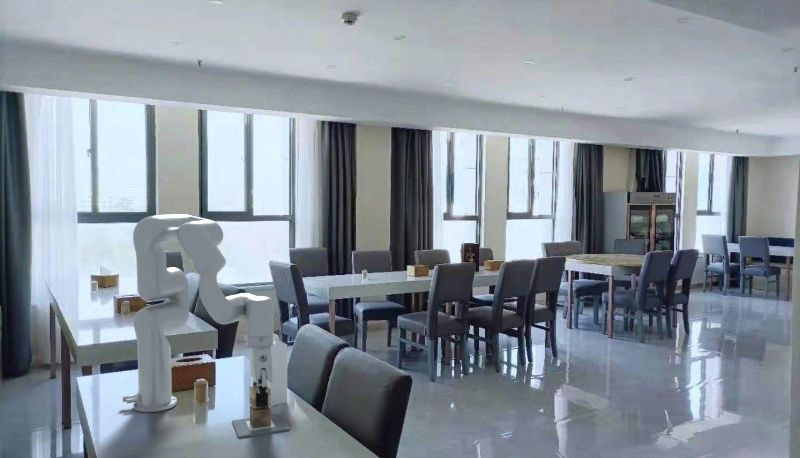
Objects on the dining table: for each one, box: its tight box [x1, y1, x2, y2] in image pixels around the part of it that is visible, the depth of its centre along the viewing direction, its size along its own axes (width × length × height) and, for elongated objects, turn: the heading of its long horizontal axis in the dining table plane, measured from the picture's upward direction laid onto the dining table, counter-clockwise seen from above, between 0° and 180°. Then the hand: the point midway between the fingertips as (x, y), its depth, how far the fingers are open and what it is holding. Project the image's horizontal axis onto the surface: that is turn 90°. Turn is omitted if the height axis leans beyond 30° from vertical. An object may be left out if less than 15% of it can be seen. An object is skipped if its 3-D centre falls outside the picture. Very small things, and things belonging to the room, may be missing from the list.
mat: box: [231, 412, 290, 439], centre depth 167 cm, size 14×12×1 cm
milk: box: [267, 332, 288, 407], centre depth 186 cm, size 6×6×22 cm
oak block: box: [249, 384, 272, 408], centre depth 167 cm, size 5×5×5 cm
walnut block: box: [249, 404, 272, 429], centre depth 167 cm, size 5×5×5 cm
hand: (260, 402), depth 167 cm, fingers closed on oak block, 4 cm apart
